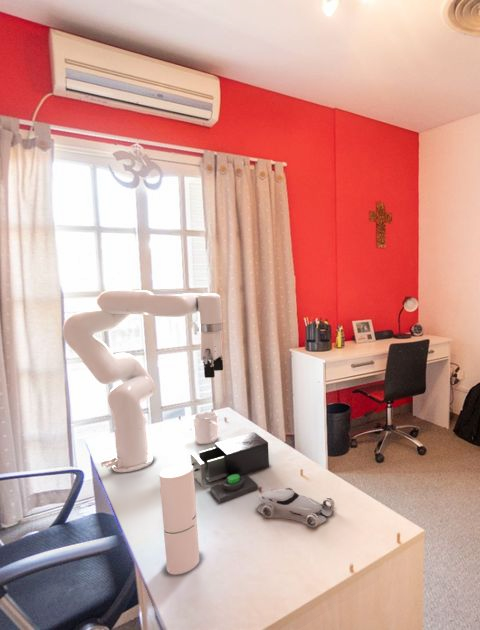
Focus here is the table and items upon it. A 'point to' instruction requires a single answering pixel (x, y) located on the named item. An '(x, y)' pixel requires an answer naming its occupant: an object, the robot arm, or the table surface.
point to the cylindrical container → (179, 518)
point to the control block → (233, 488)
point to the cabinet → (245, 454)
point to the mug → (206, 427)
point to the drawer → (209, 465)
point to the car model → (294, 507)
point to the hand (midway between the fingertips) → (214, 373)
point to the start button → (233, 479)
